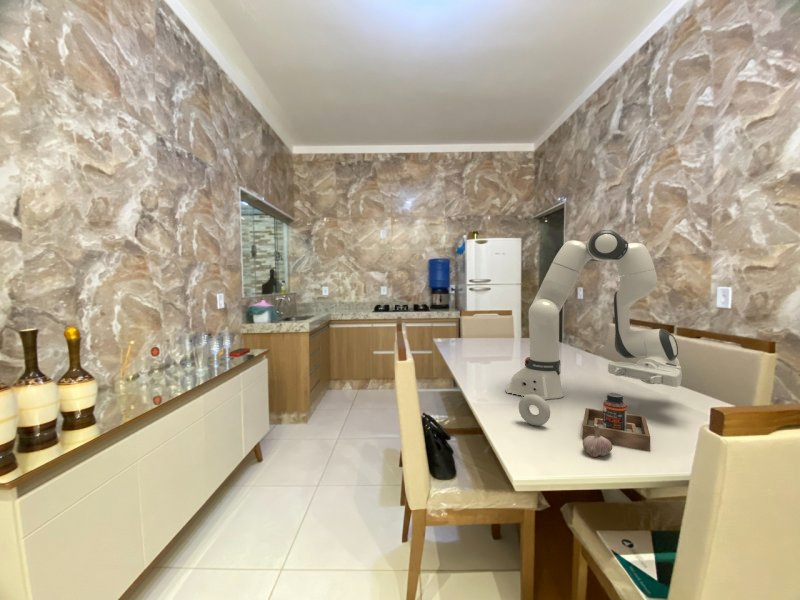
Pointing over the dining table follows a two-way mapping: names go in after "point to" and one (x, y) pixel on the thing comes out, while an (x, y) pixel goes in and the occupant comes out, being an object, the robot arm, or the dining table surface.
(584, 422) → the walled box
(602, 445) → the garlic bulb
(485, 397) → the dining table surface
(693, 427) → the dining table surface
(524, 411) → the donut
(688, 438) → the dining table surface
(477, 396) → the dining table surface
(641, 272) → the robot arm
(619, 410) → the supplement bottle
